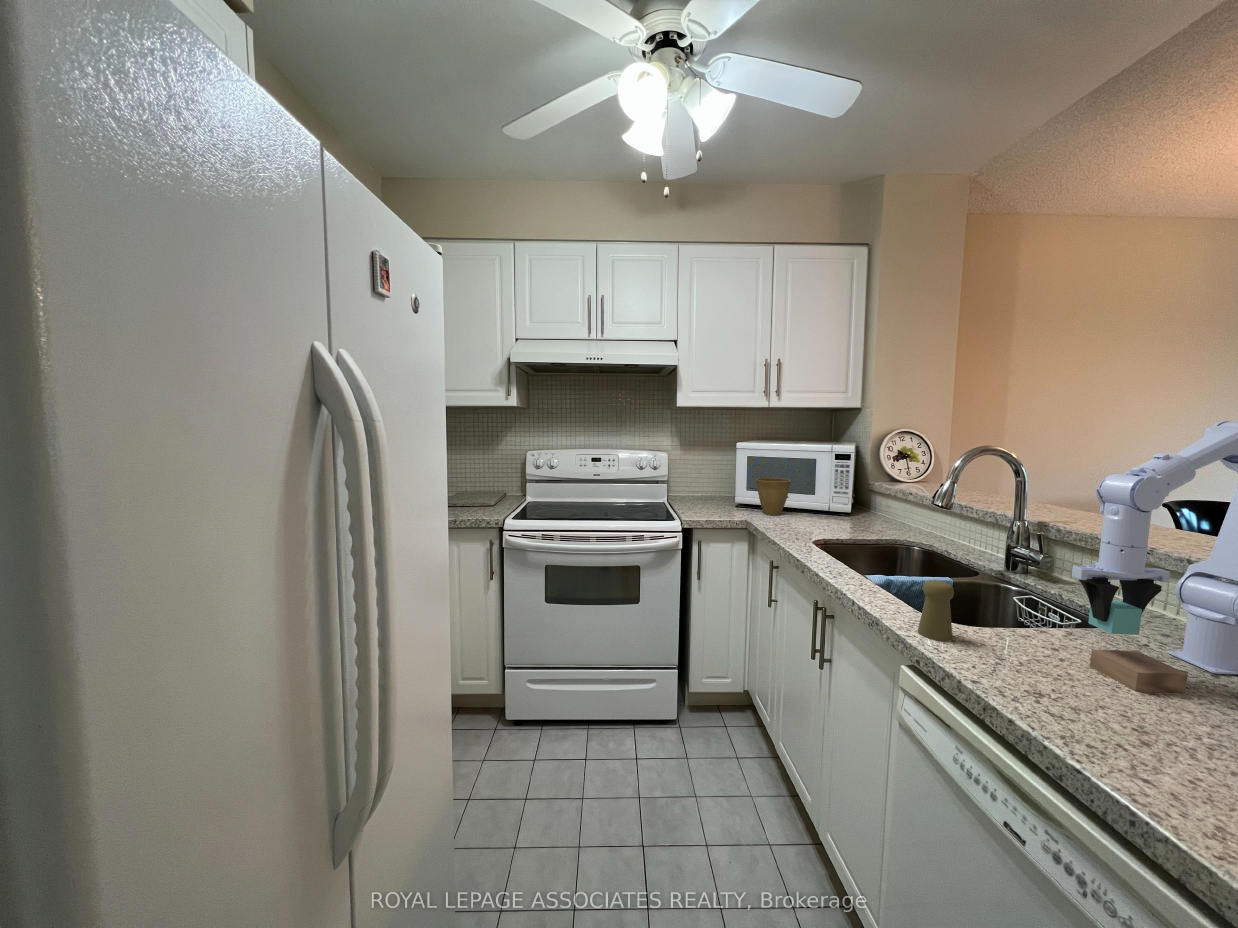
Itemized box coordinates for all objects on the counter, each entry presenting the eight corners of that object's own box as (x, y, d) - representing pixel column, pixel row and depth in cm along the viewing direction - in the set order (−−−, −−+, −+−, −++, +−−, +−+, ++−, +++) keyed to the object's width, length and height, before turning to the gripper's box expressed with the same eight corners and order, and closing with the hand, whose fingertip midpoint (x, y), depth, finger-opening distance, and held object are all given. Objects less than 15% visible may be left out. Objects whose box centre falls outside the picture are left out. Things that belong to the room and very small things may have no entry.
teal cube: (1114, 623, 90) (1117, 599, 90) (1138, 634, 86) (1142, 609, 85) (1088, 622, 90) (1091, 598, 90) (1111, 633, 86) (1114, 608, 85)
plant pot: (787, 512, 234) (788, 478, 233) (790, 518, 220) (792, 482, 218) (754, 510, 238) (755, 476, 236) (755, 516, 223) (757, 480, 222)
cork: (920, 625, 106) (924, 575, 104) (954, 634, 102) (958, 581, 101) (915, 635, 101) (919, 582, 100) (950, 644, 97) (955, 589, 96)
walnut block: (1134, 669, 89) (1137, 650, 89) (1184, 694, 81) (1187, 673, 81) (1089, 668, 89) (1091, 649, 89) (1135, 693, 81) (1137, 672, 81)
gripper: (1144, 539, 90) (1135, 612, 91) (1060, 537, 91) (1053, 609, 92) (1186, 549, 83) (1176, 628, 84) (1095, 547, 84) (1087, 625, 85)
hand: (1114, 619), depth 88 cm, fingers closed on teal cube, 4 cm apart
